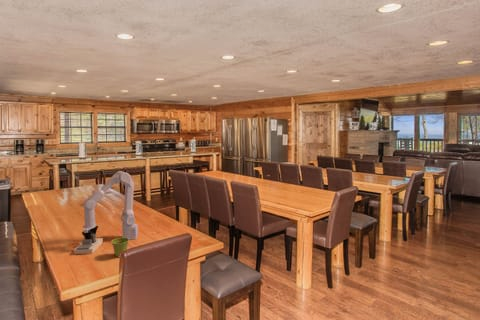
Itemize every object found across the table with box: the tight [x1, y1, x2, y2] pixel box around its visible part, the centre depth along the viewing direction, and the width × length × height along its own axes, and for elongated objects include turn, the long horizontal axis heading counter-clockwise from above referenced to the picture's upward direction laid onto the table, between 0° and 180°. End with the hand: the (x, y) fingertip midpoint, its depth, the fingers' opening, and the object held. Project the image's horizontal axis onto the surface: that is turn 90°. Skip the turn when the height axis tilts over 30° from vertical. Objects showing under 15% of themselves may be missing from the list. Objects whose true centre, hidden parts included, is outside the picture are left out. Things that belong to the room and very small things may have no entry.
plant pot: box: [110, 237, 130, 258], centre depth 177 cm, size 9×9×9 cm
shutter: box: [76, 239, 92, 250], centre depth 181 cm, size 6×7×3 cm
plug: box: [91, 234, 97, 243], centre depth 190 cm, size 4×4×8 cm
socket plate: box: [73, 237, 104, 255], centre depth 188 cm, size 10×18×2 cm, turn 6°
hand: (90, 240), depth 190 cm, fingers open, 7 cm apart
